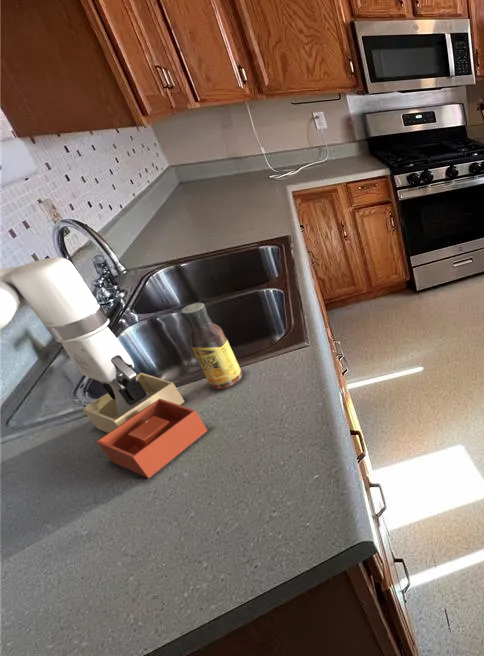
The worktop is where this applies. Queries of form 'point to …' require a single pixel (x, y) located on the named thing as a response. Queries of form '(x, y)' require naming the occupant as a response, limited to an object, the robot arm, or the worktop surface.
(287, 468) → the worktop surface
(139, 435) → the terracotta block
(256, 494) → the worktop surface
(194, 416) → the terracotta bin
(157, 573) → the worktop surface
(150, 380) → the cream bin
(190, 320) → the sauce bottle
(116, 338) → the robot arm
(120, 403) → the flask
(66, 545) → the worktop surface
